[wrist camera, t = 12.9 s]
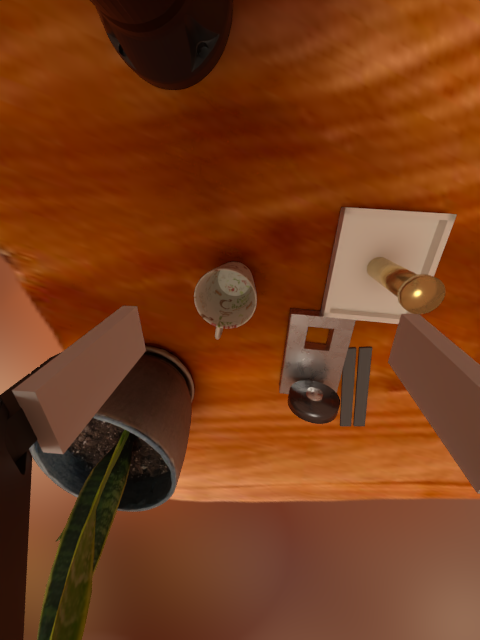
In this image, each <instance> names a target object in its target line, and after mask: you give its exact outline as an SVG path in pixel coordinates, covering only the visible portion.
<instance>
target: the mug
mask: <svg viewBox="0 0 480 640" xmlns="http://www.w3.org/2000/svg"><path fill="white" fill-rule="evenodd" d="M194 301H195V306H196V308H197V310H198V312H199V314H200V315H201V316H202V318H203V319H204V320H206V321H207V322H208V323H210V324H211V325H213V326H216V331H215V338H216V339H219V338H220V337H221V334H222V331H223V328H226V329H229V328H235V327H238V326H241V325H243V324H244V323H246V322H247V321H248V320H249V319H250V318H251V317H252V315H253V313H254V312H255V309H256V305H257V294H256V289H255V285H254V280H253V276H252V273H251V271H250V270H249V268H248V267H247V266H245V265H244V264H242V263H240V262H228V263H226V264H224V265H221V266H219V267H217V268H215V269H213V270H211V271H209V272H208V273H206V274H205V275H204V276H203V277H202V278H201V279H200V280H199V282H198V283H197V285H196V288H195V293H194Z"/></svg>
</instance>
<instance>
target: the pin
mask: <svg viewBox="0 0 480 640" xmlns="http://www.w3.org/2000/svg"><path fill="white" fill-rule="evenodd" d="M367 273H368V275H369V276H370V277H372V278H373V279H374V280H376V281H377V282H378V283H380V284H381V285H382V286H384V287H385V288H386V289H387V290H389V291H390V292H391V293H393V294H394V295H395V296H397V298H398V302H399V304H400V305H401V306H402V307H403V308H404V309H405V310H407V311H408V312H410V313H413V314H425V313H428V312H430V311H432V310H434V309H435V308H436V307H438V306H439V305H440V303H441V302H442V301H443V299H444V296H445V287H444V284H443V283H442V282H441V281H440V280H439V279H437V278H435V277H433V276H431V275H428V274H419V275H417V274H416V273H414V272H412V271H410V270H408V269H406V268H404V267H402V266H400V265H398V264H396V263H394V262H392V261H390V260H388V259H386V258H384V257H376V258H374V259H372V260H371V261H370V262H369V264H368V265H367Z"/></svg>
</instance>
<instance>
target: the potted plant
mask: <svg viewBox="0 0 480 640" xmlns="http://www.w3.org/2000/svg"><path fill="white" fill-rule="evenodd" d="M145 348H146V351H145V353H144V354H143V355H142V356H141V358H140V359H139V360H138V361H137V363H136V364H135V365H134V366H133V368H132V369H131V370H130V371H129V373H128V374H127V375H126V376H125V378H124V379H123V380H122V381H121V383H120V384H119V385H118V386H117V388H116V389H115V390H114V391H113V393H112V394H111V395H110V396H109V398H108V399H107V400H106V401H105V403H104V404H103V405H102V406H101V408H100V409H99V410H98V411H97V413H96V414H95V415H94V417H93V418H92V419H91V420H90V422H89V423H88V424H87V425H86V427H85V428H84V429H83V430H82V432H81V433H80V434H79V435H78V437H77V438H76V439H75V440H74V442H73V443H72V444H71V445H70V447H69V448H68V449H67V450H66V452H65V453H64V454H56V453H45V452H43V451H42V449H41V447H40V445H39V443H38V441H36V442H35V443H34V444H33V445H32V446H31V447H30V448H29V450H30V452H31V455H32V457H33V459H34V460H35V462H36V463H37V465H38V466H39V467H40V469H41V470H42V471H43V472H44V473H45V474H46V475H47V476H48V477H49V478H50V479H51V480H52V481H53V482H54V483H55V484H57V485H58V486H59V487H61V488H62V489H63V490H65V491H67V492H68V493H70V494H72V495H74V496H75V497H77V500H76V503H75V505H74V508H73V510H72V512H71V514H70V516H69V518H68V521H67V524H66V526H65V528H64V530H63V532H62V533H61V535H60V536H59V538H58V539H57V540H56V541H58V540H60V539H61V540H60V543H59V547H58V550H57V553H56V557H55V560H54V563H53V567H52V570H51V573H50V576H49V579H48V582H47V585H46V590H45V595H44V600H43V605H42V611H41V617H40V623H39V629H38V636H37V640H82V636H83V632H84V628H85V623H86V619H87V613H88V608H89V603H90V598H91V593H92V578H93V575H94V572H95V570H96V567H97V565H98V562H99V559H100V557H101V554H102V551H103V548H104V545H105V542H106V539H107V536H108V534H109V531H110V528H111V525H112V523H113V520H114V517H115V514H116V512H117V510H118V511H144V510H148V509H152V508H155V507H157V506H159V505H161V504H163V503H164V502H166V501H167V500H168V499H169V498H170V497H171V496H172V494H173V493H174V491H175V488H176V485H177V482H178V479H179V475H180V472H181V468H182V465H183V461H184V457H185V453H186V449H187V443H188V437H189V430H190V423H191V403H192V400H193V398H194V384H193V380H192V377H191V375H190V373H189V371H188V370H187V368H186V367H185V366H184V365H183V364H182V363H181V362H180V360H179V359H178V358H177V357H176V356H174V355H172V354H170V353H169V352H167V351H166V350H164V349H158V348H155V347H152V346H145Z"/></svg>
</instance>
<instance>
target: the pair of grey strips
mask: <svg viewBox="0 0 480 640" xmlns="http://www.w3.org/2000/svg"><path fill="white" fill-rule="evenodd" d="M371 354H372V347H359V356H358V370H357V384H356V397H355V411H354V424H353V425H354V426H365V417H366V406H367V396H368V385H369V375H370V365H371ZM355 359H356V347H352V348H348V351H347V354H346V358H345V362H344V366H343V372H342V393H341V415H340V426H351V418H352V403H353V388H354V374H355Z"/></svg>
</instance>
